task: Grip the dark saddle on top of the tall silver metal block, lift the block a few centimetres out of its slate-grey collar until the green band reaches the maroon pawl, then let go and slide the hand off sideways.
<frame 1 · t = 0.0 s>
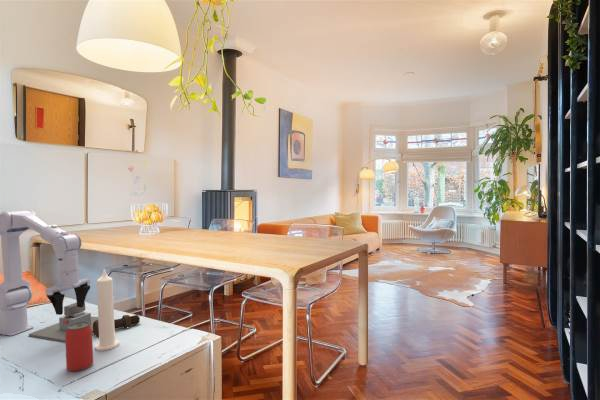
hand: (70, 310, 123), 10 cm above the table, tool pointing down, fingers open, 7 cm apart
bolt: (118, 330, 132), on the table
tall silver metal block: (75, 315, 134), point 5 cm above the table, slide at 0.0 cm
candle: (107, 346, 118), on the table
beer can: (80, 367, 105), on the table
jack base: (75, 328, 134), on the table
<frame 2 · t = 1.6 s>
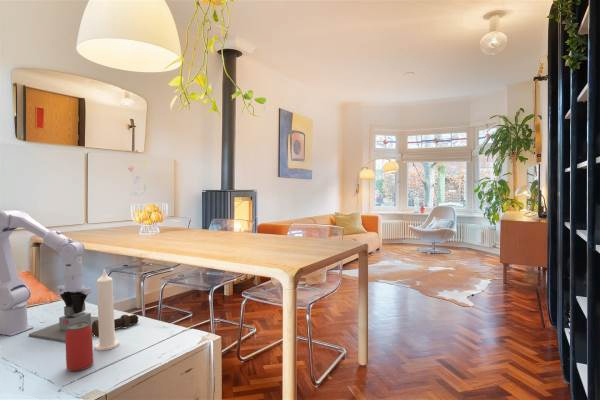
hand: (75, 312, 134), 6 cm above the table, tool pointing down, fingers closed on tall silver metal block, 3 cm apart
tall silver metal block: (75, 315, 134), point 5 cm above the table, slide at 0.0 cm, touching gripper
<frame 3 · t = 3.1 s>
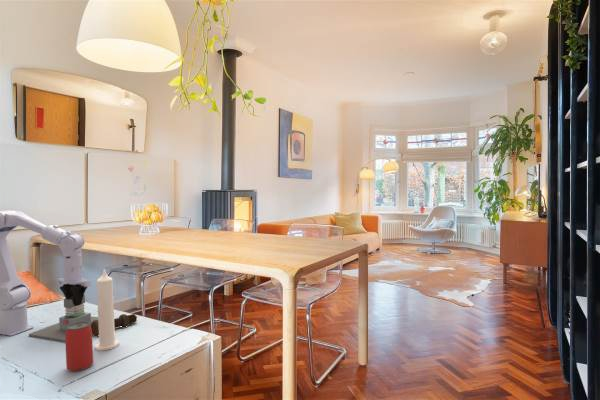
hand: (74, 304, 134), 9 cm above the table, tool pointing down, fingers closed on tall silver metal block, 3 cm apart
tall silver metal block: (74, 307, 134), point 8 cm above the table, slide at 2.8 cm, touching gripper
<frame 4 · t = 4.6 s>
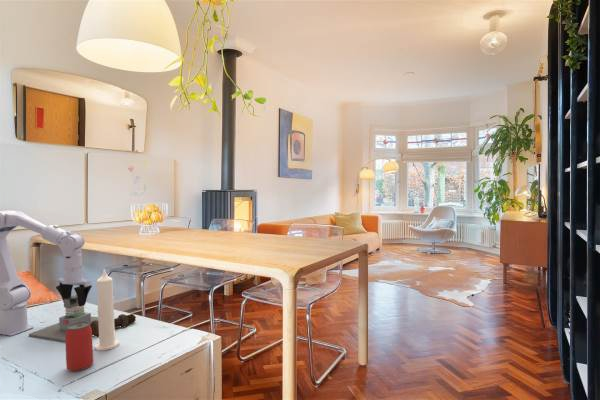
hand: (74, 304, 134), 9 cm above the table, tool pointing down, fingers open, 7 cm apart
tall silver metal block: (74, 307, 134), point 8 cm above the table, slide at 2.8 cm
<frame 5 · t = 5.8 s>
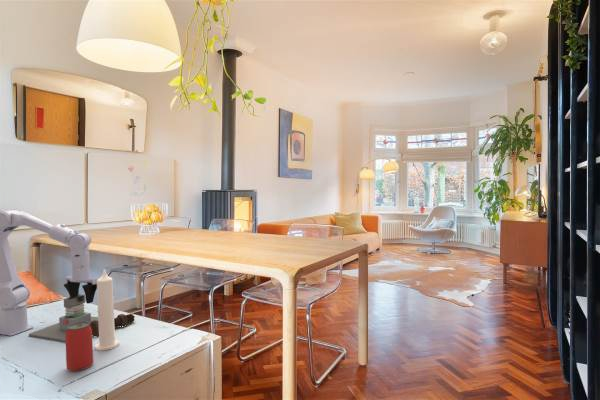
hand: (82, 301, 137), 9 cm above the table, tool pointing down, fingers open, 7 cm apart
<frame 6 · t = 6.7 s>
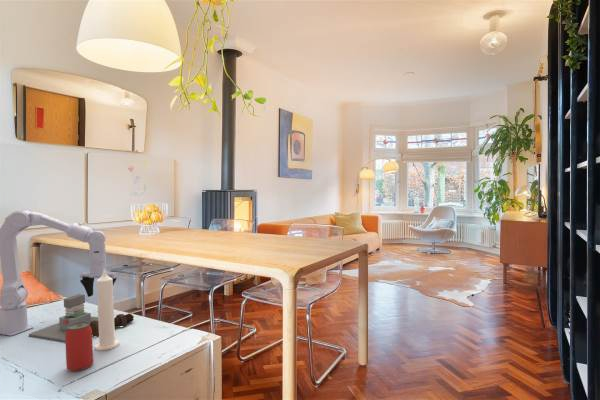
hand: (99, 296, 144), 9 cm above the table, tool pointing down, fingers open, 7 cm apart
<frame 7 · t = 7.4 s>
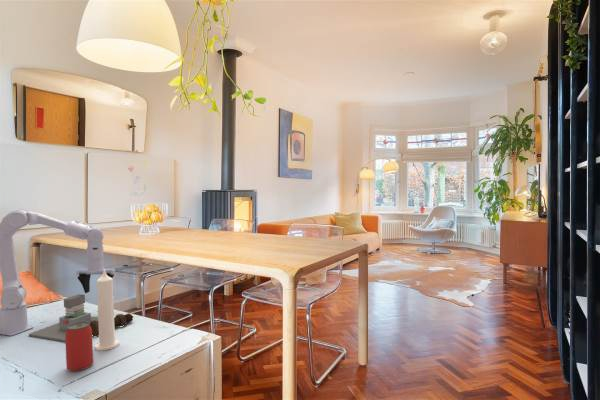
hand: (96, 292, 146), 10 cm above the table, tool pointing down, fingers open, 7 cm apart
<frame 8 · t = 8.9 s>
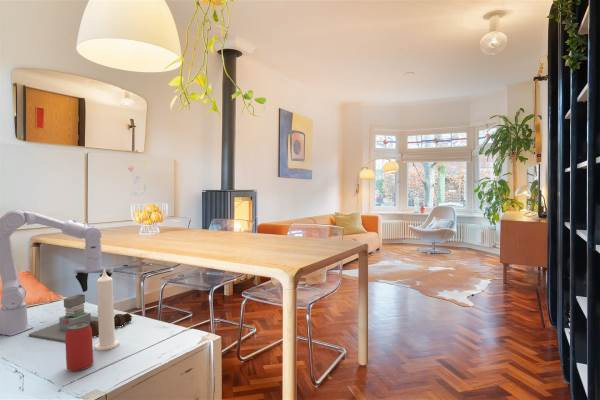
hand: (94, 290, 146), 10 cm above the table, tool pointing down, fingers open, 7 cm apart
at the end: tall silver metal block slide at 2.8 cm; the gripper is holding nothing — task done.
